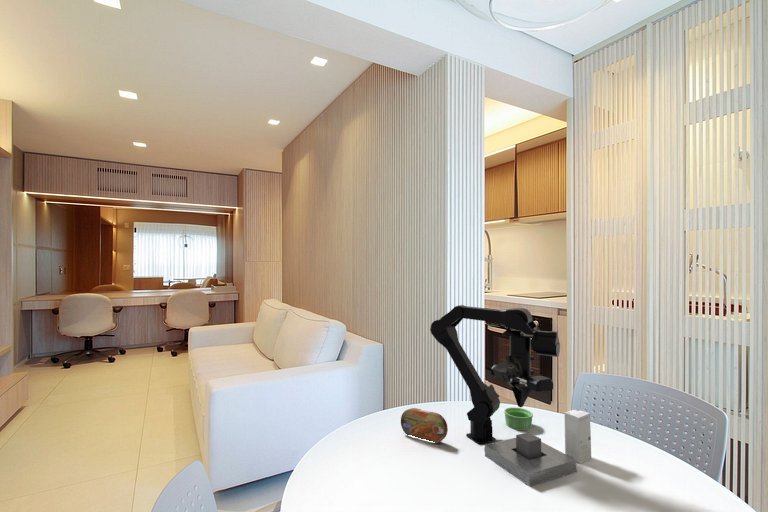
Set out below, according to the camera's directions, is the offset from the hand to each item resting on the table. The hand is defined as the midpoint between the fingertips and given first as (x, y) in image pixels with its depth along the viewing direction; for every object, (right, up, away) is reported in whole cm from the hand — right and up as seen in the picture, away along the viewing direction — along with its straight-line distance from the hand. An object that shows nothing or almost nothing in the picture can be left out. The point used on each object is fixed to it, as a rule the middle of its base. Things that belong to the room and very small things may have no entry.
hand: (520, 406), depth 107 cm
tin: (-27, -12, +6) cm, 30 cm away
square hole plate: (-1, -12, -9) cm, 14 cm away
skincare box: (+14, -12, -5) cm, 19 cm away
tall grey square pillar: (-1, -12, -8) cm, 14 cm away
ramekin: (+5, -13, +16) cm, 22 cm away
